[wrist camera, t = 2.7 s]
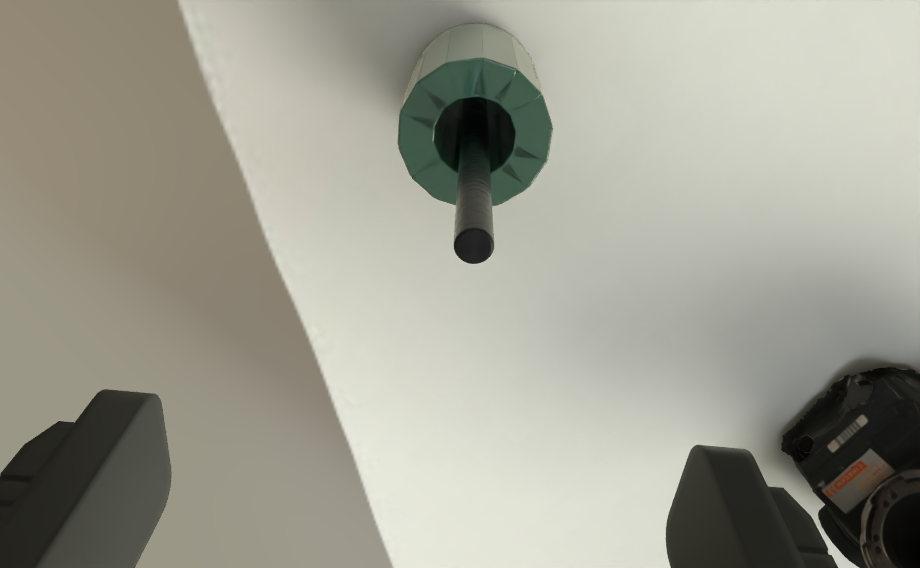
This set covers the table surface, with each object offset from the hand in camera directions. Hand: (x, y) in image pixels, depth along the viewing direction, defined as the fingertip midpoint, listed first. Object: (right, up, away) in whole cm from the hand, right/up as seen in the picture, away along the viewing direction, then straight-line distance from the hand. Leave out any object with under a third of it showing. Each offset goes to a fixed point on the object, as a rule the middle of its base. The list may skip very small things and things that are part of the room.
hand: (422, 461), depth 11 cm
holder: (+1, +11, +20) cm, 23 cm away
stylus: (+1, +11, +20) cm, 23 cm away
